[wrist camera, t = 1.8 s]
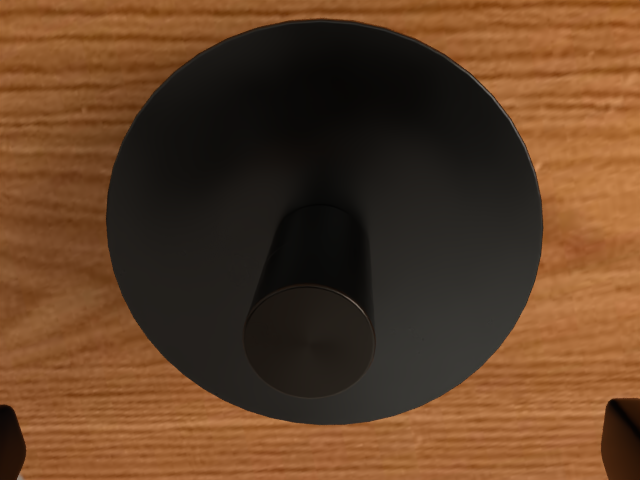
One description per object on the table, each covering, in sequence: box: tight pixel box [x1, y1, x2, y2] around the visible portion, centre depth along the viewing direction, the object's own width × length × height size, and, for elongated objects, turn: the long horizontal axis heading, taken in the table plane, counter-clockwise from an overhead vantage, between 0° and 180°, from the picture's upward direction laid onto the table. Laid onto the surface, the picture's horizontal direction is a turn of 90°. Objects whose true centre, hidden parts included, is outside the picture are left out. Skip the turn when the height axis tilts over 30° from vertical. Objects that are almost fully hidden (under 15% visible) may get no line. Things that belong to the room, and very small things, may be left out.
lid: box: [106, 18, 543, 425], centre depth 13 cm, size 11×11×5 cm
